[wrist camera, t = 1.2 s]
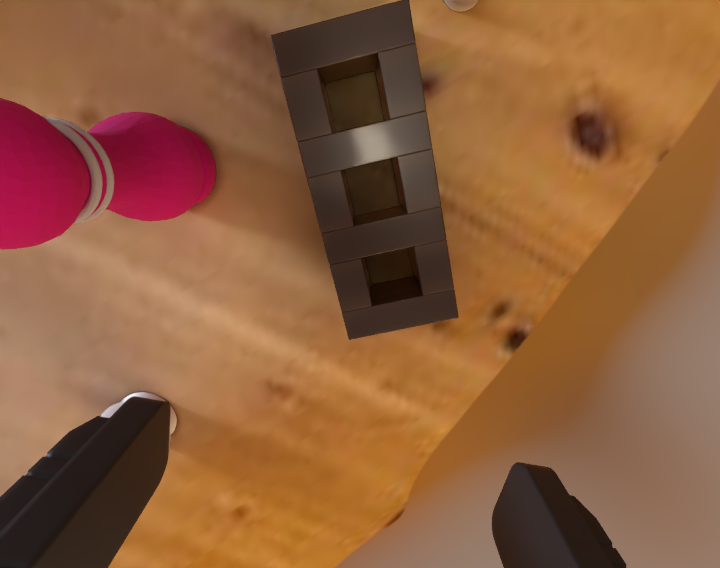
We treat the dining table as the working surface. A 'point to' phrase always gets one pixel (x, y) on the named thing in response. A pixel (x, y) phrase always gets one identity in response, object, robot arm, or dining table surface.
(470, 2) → the peg
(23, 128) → the pepper mill
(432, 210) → the dark brown hollow block
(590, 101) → the dining table surface
